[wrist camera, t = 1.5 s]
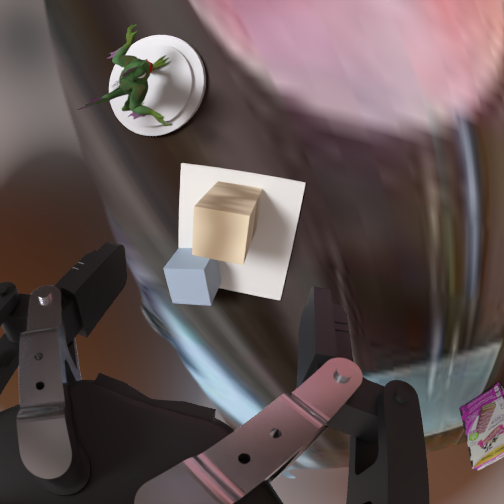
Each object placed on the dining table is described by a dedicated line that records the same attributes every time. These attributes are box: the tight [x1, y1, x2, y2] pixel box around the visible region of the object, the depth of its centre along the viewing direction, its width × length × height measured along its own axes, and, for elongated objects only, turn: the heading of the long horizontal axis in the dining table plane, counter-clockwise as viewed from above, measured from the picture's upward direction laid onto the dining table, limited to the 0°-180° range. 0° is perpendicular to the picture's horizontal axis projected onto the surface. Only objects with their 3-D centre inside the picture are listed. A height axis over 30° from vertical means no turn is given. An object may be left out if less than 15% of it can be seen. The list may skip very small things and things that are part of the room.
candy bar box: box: [460, 382, 504, 470], centre depth 38 cm, size 11×5×16 cm, turn 142°
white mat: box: [179, 163, 306, 300], centre depth 36 cm, size 14×16×1 cm
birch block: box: [192, 181, 262, 265], centre depth 31 cm, size 5×5×8 cm
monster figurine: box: [77, 25, 206, 136], centre depth 24 cm, size 12×12×10 cm
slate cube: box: [163, 248, 221, 305], centre depth 37 cm, size 5×5×5 cm
